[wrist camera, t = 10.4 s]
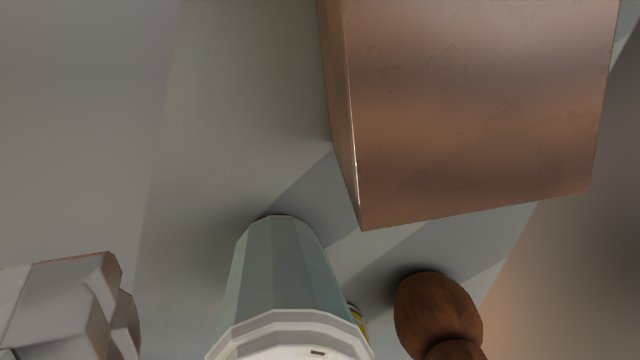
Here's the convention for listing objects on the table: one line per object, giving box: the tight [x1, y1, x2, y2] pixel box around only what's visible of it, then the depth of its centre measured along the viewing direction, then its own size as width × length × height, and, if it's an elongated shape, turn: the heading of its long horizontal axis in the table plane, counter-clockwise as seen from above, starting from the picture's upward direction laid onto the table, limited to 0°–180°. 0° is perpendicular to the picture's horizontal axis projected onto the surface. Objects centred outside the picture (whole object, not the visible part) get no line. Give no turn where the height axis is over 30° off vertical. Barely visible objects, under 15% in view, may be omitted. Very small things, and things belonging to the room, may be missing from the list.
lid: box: [338, 0, 621, 232], centre depth 29 cm, size 18×14×5 cm
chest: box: [316, 0, 359, 223], centre depth 35 cm, size 17×14×10 cm
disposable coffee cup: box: [205, 215, 374, 360], centre depth 42 cm, size 11×11×15 cm
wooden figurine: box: [394, 272, 487, 360], centre depth 47 cm, size 7×6×15 cm
